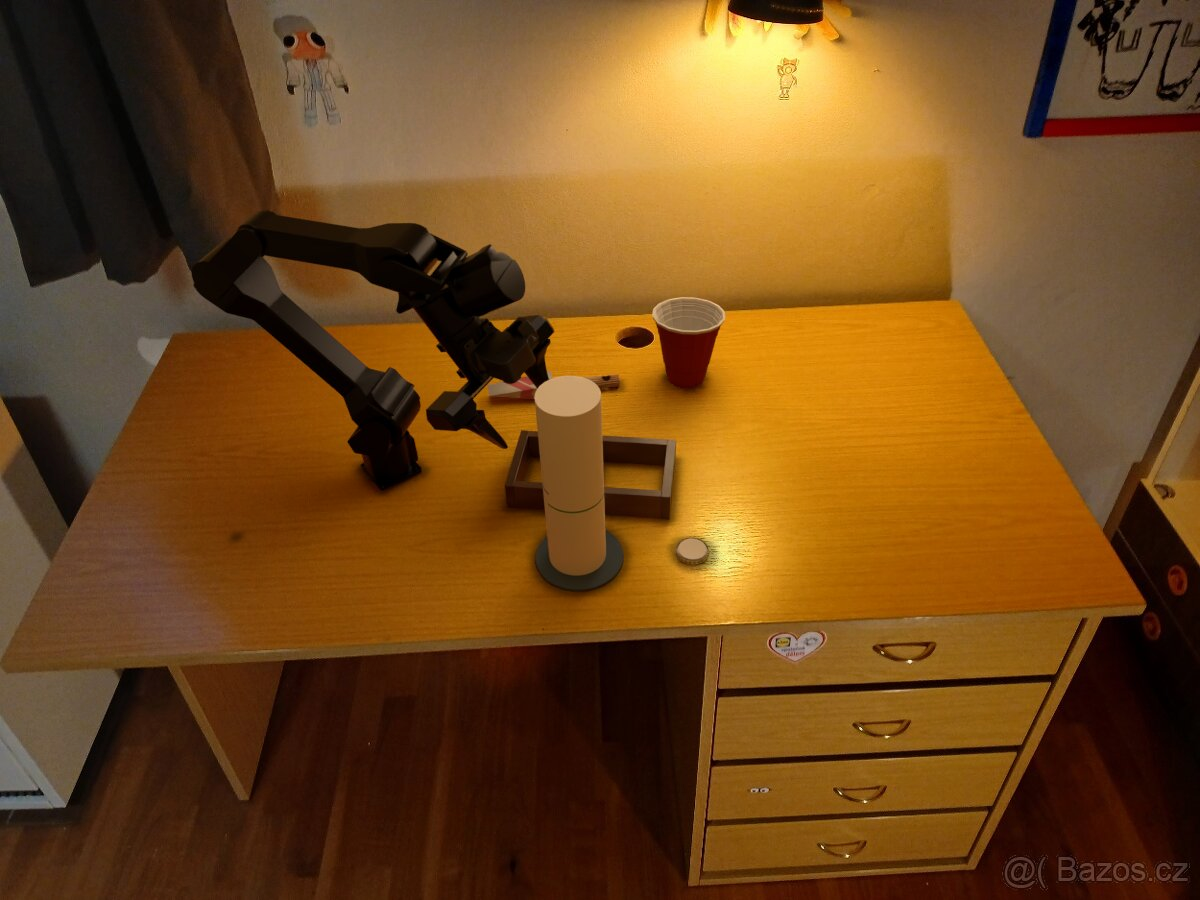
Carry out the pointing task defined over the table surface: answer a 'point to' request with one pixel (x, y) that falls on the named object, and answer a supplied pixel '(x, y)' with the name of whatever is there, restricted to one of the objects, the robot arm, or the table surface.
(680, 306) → the plastic cup
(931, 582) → the table surface
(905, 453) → the table surface
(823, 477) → the table surface
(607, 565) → the coaster
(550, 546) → the cylindrical container
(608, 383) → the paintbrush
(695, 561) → the bottle cap
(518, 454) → the rectangular frame
